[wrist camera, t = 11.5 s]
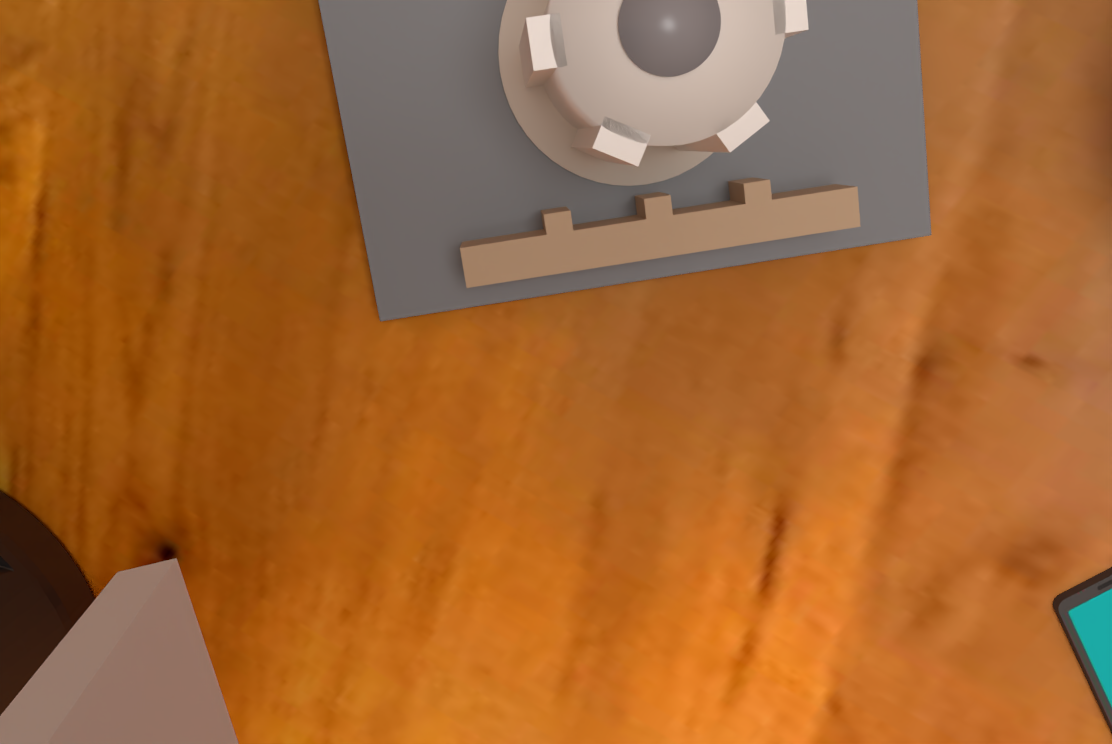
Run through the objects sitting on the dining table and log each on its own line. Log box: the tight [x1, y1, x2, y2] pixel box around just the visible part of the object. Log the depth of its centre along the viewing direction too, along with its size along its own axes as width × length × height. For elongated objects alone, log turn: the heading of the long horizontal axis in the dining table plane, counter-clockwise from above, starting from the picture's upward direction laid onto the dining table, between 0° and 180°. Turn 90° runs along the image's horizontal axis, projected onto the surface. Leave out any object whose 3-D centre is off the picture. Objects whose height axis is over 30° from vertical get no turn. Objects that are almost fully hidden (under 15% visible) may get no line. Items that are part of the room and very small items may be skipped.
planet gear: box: [519, 0, 809, 167], centre depth 27 cm, size 7×6×7 cm
